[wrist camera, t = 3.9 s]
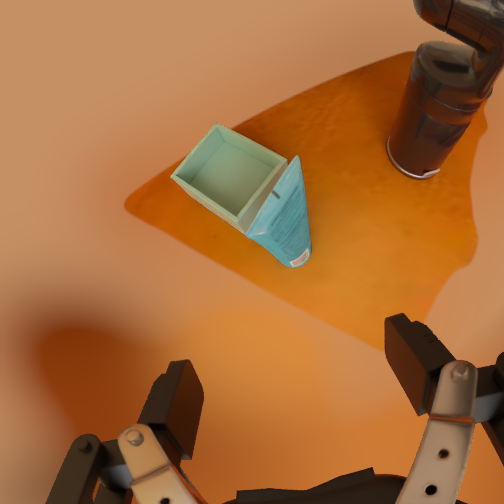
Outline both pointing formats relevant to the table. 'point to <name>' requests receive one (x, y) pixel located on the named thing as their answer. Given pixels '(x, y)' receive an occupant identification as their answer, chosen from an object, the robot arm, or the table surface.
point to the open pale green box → (230, 175)
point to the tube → (285, 219)
